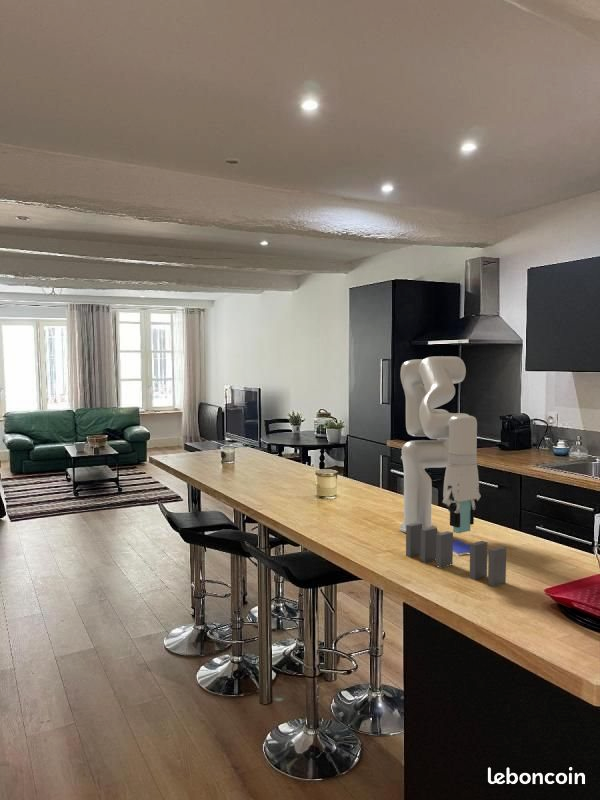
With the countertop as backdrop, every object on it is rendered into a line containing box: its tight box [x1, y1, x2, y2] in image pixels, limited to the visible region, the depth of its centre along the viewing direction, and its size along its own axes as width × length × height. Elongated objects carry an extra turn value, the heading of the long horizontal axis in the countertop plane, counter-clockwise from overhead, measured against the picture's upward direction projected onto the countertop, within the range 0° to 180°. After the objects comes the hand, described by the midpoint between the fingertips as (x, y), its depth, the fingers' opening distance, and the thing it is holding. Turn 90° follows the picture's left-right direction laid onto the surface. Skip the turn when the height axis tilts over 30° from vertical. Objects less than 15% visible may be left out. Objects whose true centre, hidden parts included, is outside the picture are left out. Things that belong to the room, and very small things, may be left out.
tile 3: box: [435, 530, 454, 568], centre depth 175 cm, size 2×5×10 cm, turn 125°
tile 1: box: [405, 523, 422, 558], centre depth 185 cm, size 2×5×10 cm, turn 125°
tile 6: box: [487, 545, 507, 588], centre depth 160 cm, size 2×5×10 cm, turn 125°
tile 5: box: [469, 540, 488, 581], centre depth 165 cm, size 2×5×10 cm, turn 125°
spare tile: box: [452, 501, 471, 534], centre depth 169 cm, size 2×5×10 cm, turn 125°
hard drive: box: [453, 539, 470, 556], centre depth 192 cm, size 2×8×12 cm
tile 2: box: [420, 526, 438, 563], centre depth 180 cm, size 2×5×10 cm, turn 125°
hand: (461, 524), depth 169 cm, fingers closed on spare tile, 4 cm apart
